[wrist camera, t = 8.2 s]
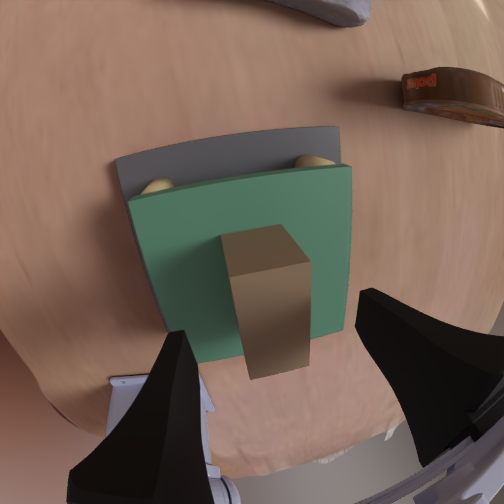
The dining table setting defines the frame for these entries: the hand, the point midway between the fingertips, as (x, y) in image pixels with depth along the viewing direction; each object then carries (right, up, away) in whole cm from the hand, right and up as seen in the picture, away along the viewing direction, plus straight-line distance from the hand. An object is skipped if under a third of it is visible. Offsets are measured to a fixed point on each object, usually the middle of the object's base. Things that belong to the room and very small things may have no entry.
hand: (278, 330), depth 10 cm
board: (-1, +2, +5) cm, 6 cm away
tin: (+16, +17, +6) cm, 24 cm away
